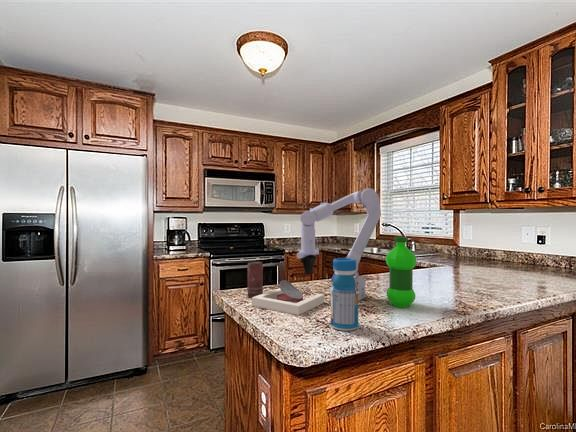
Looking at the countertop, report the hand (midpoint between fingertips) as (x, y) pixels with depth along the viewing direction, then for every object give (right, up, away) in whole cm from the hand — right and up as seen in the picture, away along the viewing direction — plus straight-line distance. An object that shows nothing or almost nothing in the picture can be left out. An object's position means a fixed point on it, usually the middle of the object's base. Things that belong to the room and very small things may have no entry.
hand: (308, 274), depth 131 cm
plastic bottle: (+33, -9, -14) cm, 37 cm away
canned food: (-8, -9, -12) cm, 17 cm away
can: (-21, -9, -1) cm, 23 cm away
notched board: (-8, -9, -12) cm, 17 cm away
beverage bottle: (+8, -9, -36) cm, 38 cm away
